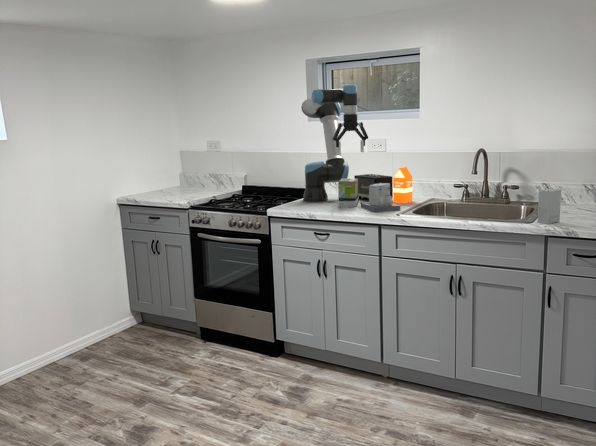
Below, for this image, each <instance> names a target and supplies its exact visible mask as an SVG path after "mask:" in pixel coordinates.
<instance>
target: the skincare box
mask: <svg viewBox="0 0 596 446" xmlns="http://www.w3.org/2000/svg"><path fill="white" fill-rule="evenodd" d="M561 200H562V189H558V188H552V187H551V188H546V189H540V190H538V200H537V202H538V203H537V223H540V224H544V225H550V224H556V223H559V222H560V220H561V204H562V202H561Z"/></svg>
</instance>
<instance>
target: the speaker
mask: <svg viewBox="0 0 596 446" xmlns="http://www.w3.org/2000/svg"><path fill="white" fill-rule="evenodd" d="M353 179H358V200H359V199H362V198H363V199H368V200H369V185H373V184H378V183H389V184H390V196H392V198H394V193H393V176H392V175H382V174H373V173H367V174H360V175H359V174H357V175H354V177H353Z"/></svg>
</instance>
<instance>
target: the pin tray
mask: <svg viewBox="0 0 596 446" xmlns="http://www.w3.org/2000/svg"><path fill="white" fill-rule="evenodd" d="M392 199H393V197H392V196H389V203H387V204H383V197H380V205H370V204H369V201H367V202H360V208H362V209H364V210H367V211H370V212H371V213H382V212H383V213H384V212H395V211H401V205H400V204H398V203H394V202H393V200H392Z"/></svg>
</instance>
